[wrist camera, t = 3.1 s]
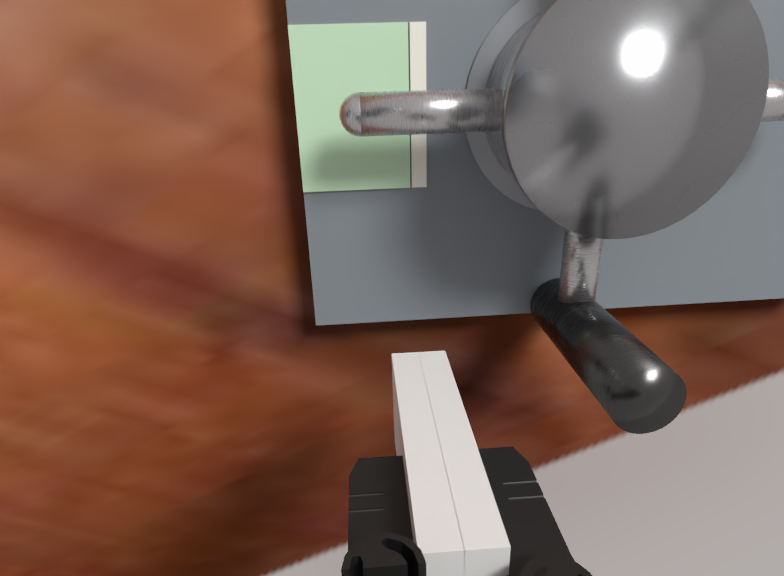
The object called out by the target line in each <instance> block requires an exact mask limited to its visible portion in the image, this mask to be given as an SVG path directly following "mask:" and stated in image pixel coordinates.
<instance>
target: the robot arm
mask: <svg viewBox="0 0 784 576" xmlns="http://www.w3.org/2000/svg"><path fill="white" fill-rule="evenodd" d="M392 380H393V410H394V436H395V445H396V455H397V456H389V457H374V458H359V459H358V461H357V463H356V464H355V466H354V468H353V470H352V471H351V473H350V475H349V528H348V552H347V554H346V555H345V557H344V562H343V565H342V569H341V572H342V576H592V575H591V574H590V572H588V571H587V570H586V569H584V568H583V567H582V566H581V565H579V564H578V563H576V562H575V561H574V559H573V558H572V556H571V554H570V552H569V550H568V547H567V545H566V543H565V541H564V539H563V536H562V534H561V532H560V530H559V528H558V525H557V523H556V521H555V519H554V517H553V515H552V512H551V510H550V508H549V506H548V504H547V502H546V499H545V498H544V497H543V493H542V490H541V488H540V486H539V484H538V483H537V481H536V477H535V475H534V473H533V471H532V469H531V466H530V464H529V462H528V461H527V460H526V459H525V458H524V457H523V456H522V455H521V454H520V453H519V452H517V451H516V450H515V449H514V448H513V447H501V448H486V449H478V447H477V444H476V441H475V438H474V435H473V432H472V429H471V426H470V423H469V420H468V417H467V414H466V412H465V409H464V406H463V403H462V400H461V397H460V394H459V391H458V388H457V385H456V382H455V379H454V376H453V373H452V370H451V367H450V364H449V361H448V358H447V355H446V352H445V351H430V352H413V353H395V354H392Z"/></svg>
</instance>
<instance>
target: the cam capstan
mask: <svg viewBox="0 0 784 576" xmlns="http://www.w3.org/2000/svg"><path fill="white" fill-rule="evenodd" d="M339 117H340V121H341V124H342V126H343V127H344V129H345V130H346V131H347V132H349V133H350V134H352V135H355V136H361V137H364V136H391V135H418V134H445V133H473V132H486V136H487V139H488V143H489V145H490V147H491V150H492V152H493V154H494V156H495V158H496V159H497V161H498V162H499V164H500V165H501V166H502V168H503V169H504V170H505V171H506V172H507V173H508V174H509V175H510V176H511V177H512V178H513V179H514V180H515V181H516V183H517V184H518V186H519V187H520V189H521V191H522V192H523V194H524V195H525V196H526V197H527V199H528V200H529V201H530V202H531V203H532V205H533V206H535V207H536V208H537V209H538V210H539V211H540V212H541V213H542V214H543V215H545V216H546V217H548V218H549V219H551V220H552V221H554V222H555V223H557V224H558V225H560V226H562V227H564V228H565V232H564V242H563V252H562V261H561V271H560V278H555V279H551V280H549V281H547V282H545V283H543V284H542V285H541V286H539V287H538V289H537V290H536V291H535V292H534V294H533V296H532V299H531V303H530V309H531V313H532V316H533V317H534V319H535V320H536V321H537V323H538V324H539V325H540V327H541V328H542V329H543V331H544V332H545V333H546V334H547V336H548V337H549V338H550V340H551V341H552V342H553V343H554V345H555V346H556V347H557V349H558V350H559V351H560V352H561V354H562V355H563V356H564V358H565V359H566V360H567V361H568V363H569V364H570V365H571V367H572V368H573V369H574V371H575V372H576V373H577V374H578V376H579V377H580V378H581V380H582V381H583V382H584V383H585V385H586V386H587V387H588V389H589V390H590V391H591V392H592V394H593V395H594V396H595V398H596V399H597V400H598V402H599V403H600V404H601V405H602V407H603V408H604V409H605V411H606V412H607V413H608V414H609V416H610V417H611V418H612V420H613V421H614V422H615V423H616V425H617V426H618V427H620V428H621V429H623V430H624V431H627V432H630V433H636V434H643V433H649V432H653V431H656V430H658V429H661V428H663V427H664V426H666V425H667V424H669V423H670V422H671V421H673V420H674V419H675V418H676V417H677V415H678V414H679V413H680V411H681V410H682V408H683V406H684V404H685V400H686V386H685V383H684V382H683V380H682V379H681V377H680V376H679V375H678V374H676V373H675V372H674V371H673V370H672V369H671V368H670V367H669V366H668V365H666V364H665V363H664V362H663V361H662V360H661V359H660V358H659V357H658V356H656V355H655V354H654V353H653V352H652V351H651V350H650V349H649V348H647V347H646V346H645V345H644V344H643V343H642V342H641V341H640V340H639V339H637V338H636V337H635V336H634V335H633V334H632V333H631V332H630V331H629V330H627V329H626V328H625V327H624V326H623V325H622V324H621V323H620V322H618V321H617V320H616V319H615V318H614V317H613V316H612V315H611V314H610V313H608V312H607V311H606V310H605V309H604V308H603V307H602V306H601V305H600V304H598V303H597V302H596V301H595V300H596V292H597V284H598V277H599V269H600V262H601V254H602V246H603V239H626V238H634V237H639V236H643V235H647V234H651V233H654V232H656V231H659V230H662V229H664V228H667V227H669V226H671V225H673V224H675V223H677V222H679V221H681V220H682V219H684V218H685V217H687V216H688V215H690V214H692V213H693V212H695V211H696V210H697V209H699V208H700V207H701V206H702V205H704V204H705V203H706V202H707V201H709V200H710V199H711V198H712V197H713V196H714V195H715V194H716V193H717V192H718V191H719V190H720V189H721V188H722V187H723V186H724V184H725V183H726V182H727V181H728V179H729V178H730V177H731V176H732V175H733V173H734V172H735V171H736V169H737V168H738V166H739V165H740V163H741V162H742V160H743V159H744V157H745V155H746V153H747V151H748V149H749V148H750V146H751V144H752V142H753V140H754V137H755V135H756V132H757V130H758V127H759V125H760V122H771V121H784V79H769V59H768V49H767V44H766V39H765V34H764V31H763V28H762V25H761V23H760V20H759V17H758V15H757V13H756V11H755V9H754V8H753V6H752V4H751V2H750V0H555V1H554V2H553V3H552V4H551V5H550V6H549V7H548V8H547V9H545V10H544V11H542V12H540V13H538V14H537V15H535V16H534V17H532V18H531V19H530V20H528V21H527V22H526V23H524V24H523V25H522V26H521V27H520V28H519V29H518V30H517V31H516V32H515V33H514V34H513V35H512V36H511V38H510V39H509V40H508V41H507V43H506V44H505V45H504V47H503V48H502V50H501V52H500V53H499V55H498V57H497V59H496V61H495V63H494V65H493V67H492V69H491V72H490V75H489V78H488V81H487V85H486V88H478V89H446V90H415V91H383V92H357V93H353V94H351V95H349V96H348V97H346V98H345V99H344V101H343V102H342V104H341V106H340V111H339Z"/></svg>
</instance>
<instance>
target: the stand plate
mask: <svg viewBox="0 0 784 576" xmlns="http://www.w3.org/2000/svg"><path fill="white" fill-rule="evenodd" d="M554 1H555V0H286V9H287V20H288V35H289V45H290V56H291V67H292V77H293V88H294V99H295V110H296V120H297V131H298V142H299V152H300V163H301V174H302V184H303V192H304V203H305V213H306V224H307V235H308V246H309V256H310V267H311V278H312V289H313V299H314V310H315V321H316V326H317V325H334V324H352V323H369V322H386V321H403V320H420V319H437V318H454V317H471V316H488V315H506V314H523V313H531V309H530V303H531V299H532V296H533V294H534V292H535V291H536V290H537V289H538V287H539V286H541V285H542V284H543V283H545V282H547V281H549V280H551V279H555V278H560V271H561V261H562V252H563V242H564V232H565V228H564V227H562V226H560V225H558V224H557V223H555V222H554V221H552V220H551V219H549V218H548V217H546V216H545V215H543V214H542V213H541V212H540V211H539V210H538V209H537V208H536V207H535V206H533V205H532V203H531V202H530V201H529V200H528V199H527V197H526V196H525V195H524V194H523V192H522V191H521V189H520V187H519V186H518V184H517V183H516V181H515V180H514V179H513V178H512V177H511V176H510V175H509V174H508V173H507V172H506V171H505V170H504V169H503V168H502V166H501V165H500V164H499V162H498V161H497V159H496V158H495V156H494V154H493V152H492V150H491V147H490V145H489V143H488V139H487V136H486V132H473V133H445V134H418V135H391V136H364V137H361V136H355V135H352V134H350V133H349V132H347V131H346V130H345V129H344V127H343V126H342V124H341V121H340V117H339V111H340V106H341V104H342V102H343V101H344V99H345V98H346V97H348V96H349V95H351V94H353V93H357V92H383V91H415V90H446V89H478V88H486V85H487V81H488V78H489V75H490V72H491V69H492V67H493V65H494V63H495V61H496V59H497V57H498V55H499V53H500V52H501V50H502V48H503V47H504V45H505V44H506V43H507V41H508V40H509V39H510V38H511V36H512V35H513V34H514V33H515V32H516V31H517V30H518V29H519V28H520V27H521V26H522V25H523V24H524V23H526V22H527V21H528V20H530V19H531V18H532V17H534V16H535V15H537V14H538V13H540V12H542V11H544V10H545V9H547V8H548V7H549V6H550V5H551V4H552V3H553V2H554ZM750 2H751V4H752V6H753V8H754V9H755V11H756V13H757V15H758V17H759V20H760V23H761V25H762V28H763V31H764V34H765V39H766V44H767V49H768V59H769V79H784V0H750ZM779 298H784V121H771V122H760V125H759V127H758V130H757V132H756V135H755V137H754V140H753V142H752V144H751V146H750V148H749V149H748V151H747V153H746V155H745V157H744V159H743V160H742V162H741V163H740V165H739V166H738V168H737V169H736V171H735V172H734V173H733V175H732V176H731V177H730V178H729V179H728V181H727V182H726V183H725V184H724V186H723V187H722V188H721V189H720V190H719V191H718V192H717V193H716V194H715V195H714V196H713V197H712V198H711V199H710V200H709V201H707V202H706V203H705V204H704V205H702V206H701V207H700V208H699V209H697V210H696V211H695V212H693V213H692V214H690V215H688V216H687V217H685V218H684V219H682V220H681V221H679V222H677V223H675V224H673V225H671V226H669V227H667V228H664V229H662V230H659V231H656V232H654V233H651V234H647V235H643V236H639V237H634V238H626V239H603V246H602V254H601V262H600V269H599V277H598V284H597V292H596V300H595V301H596V302H597V303H598V304H600V305H601V306H602V307H603V308H604V309H608V308H625V307H642V306H660V305H677V304H694V303H711V302H728V301H745V300H762V299H779Z"/></svg>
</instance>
